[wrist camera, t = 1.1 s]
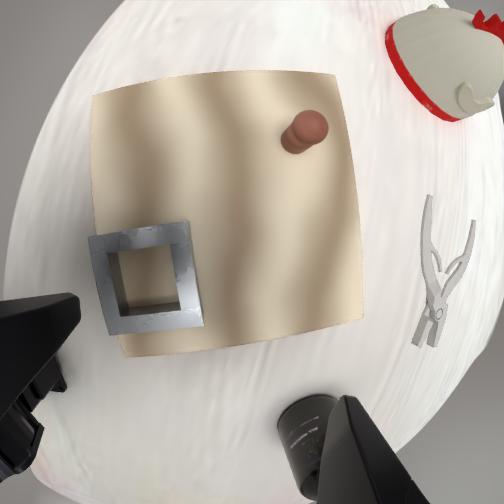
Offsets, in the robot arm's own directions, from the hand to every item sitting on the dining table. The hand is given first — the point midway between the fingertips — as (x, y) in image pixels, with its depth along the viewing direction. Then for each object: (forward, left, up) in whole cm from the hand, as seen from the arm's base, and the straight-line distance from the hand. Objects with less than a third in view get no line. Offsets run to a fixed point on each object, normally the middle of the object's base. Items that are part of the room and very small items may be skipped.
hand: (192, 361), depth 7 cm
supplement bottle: (+8, -16, -13) cm, 22 cm away
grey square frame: (-3, +1, -11) cm, 11 cm away
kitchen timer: (+28, +20, -13) cm, 36 cm away
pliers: (+24, -4, -13) cm, 27 cm away
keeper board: (+3, +5, -12) cm, 13 cm away
